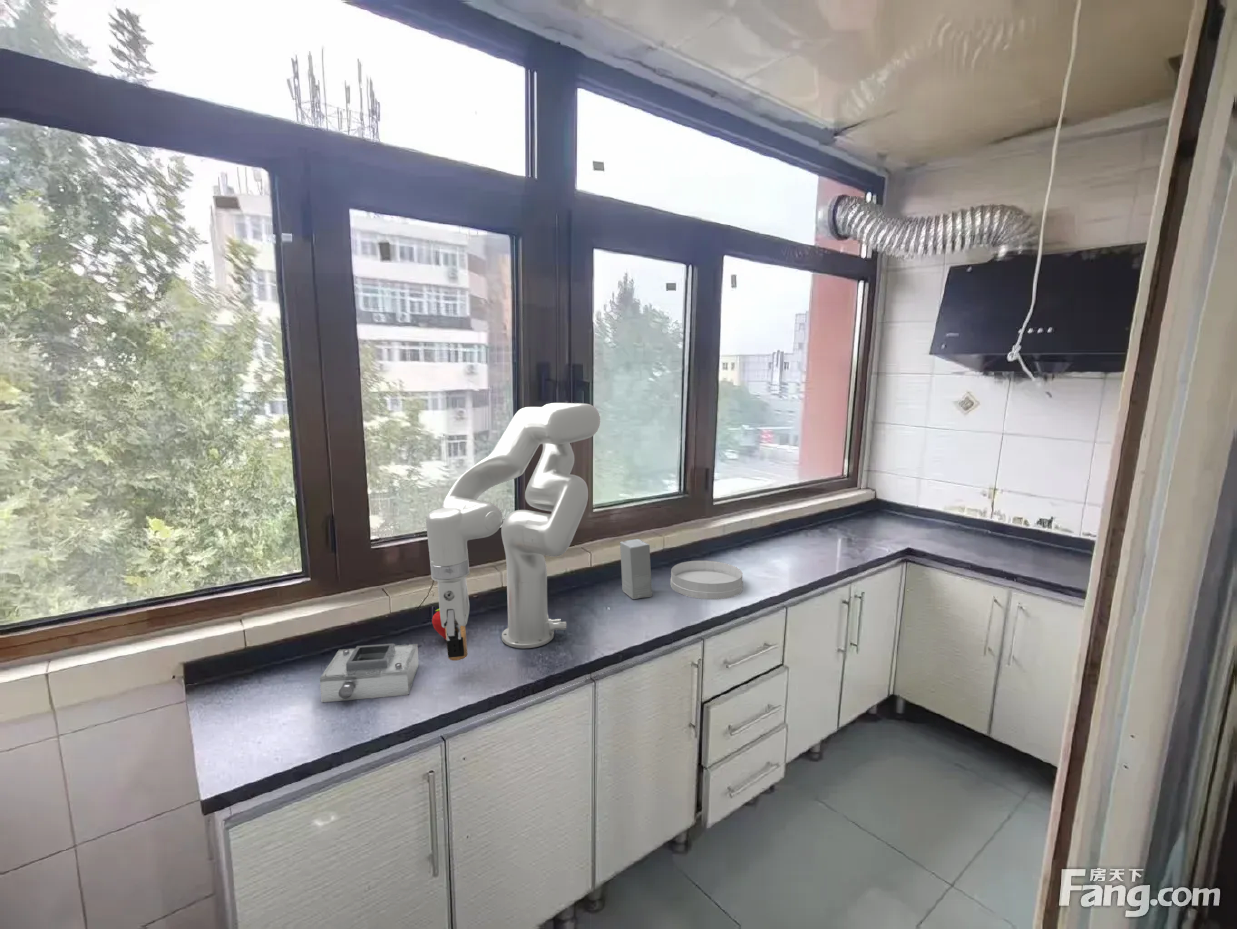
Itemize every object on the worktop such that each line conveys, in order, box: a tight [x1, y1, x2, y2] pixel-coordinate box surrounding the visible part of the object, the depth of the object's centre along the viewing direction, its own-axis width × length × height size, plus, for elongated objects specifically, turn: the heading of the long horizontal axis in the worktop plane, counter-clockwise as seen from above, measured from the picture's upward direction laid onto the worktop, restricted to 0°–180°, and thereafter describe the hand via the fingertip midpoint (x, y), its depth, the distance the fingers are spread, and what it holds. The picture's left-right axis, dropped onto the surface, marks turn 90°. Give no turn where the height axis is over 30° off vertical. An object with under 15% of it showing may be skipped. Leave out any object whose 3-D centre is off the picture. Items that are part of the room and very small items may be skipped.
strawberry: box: [431, 608, 446, 640], centre depth 135 cm, size 6×8×10 cm
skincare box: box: [619, 538, 653, 600], centre depth 165 cm, size 8×7×16 cm
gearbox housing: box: [319, 643, 420, 703], centre depth 114 cm, size 16×14×6 cm
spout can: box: [445, 622, 468, 662], centre depth 117 cm, size 4×4×10 cm
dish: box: [669, 560, 744, 600], centre depth 173 cm, size 22×22×5 cm
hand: (457, 649), depth 118 cm, fingers closed on spout can, 4 cm apart
